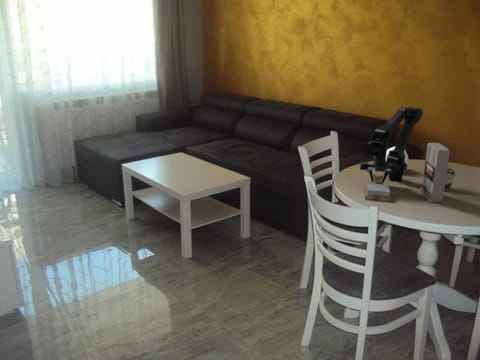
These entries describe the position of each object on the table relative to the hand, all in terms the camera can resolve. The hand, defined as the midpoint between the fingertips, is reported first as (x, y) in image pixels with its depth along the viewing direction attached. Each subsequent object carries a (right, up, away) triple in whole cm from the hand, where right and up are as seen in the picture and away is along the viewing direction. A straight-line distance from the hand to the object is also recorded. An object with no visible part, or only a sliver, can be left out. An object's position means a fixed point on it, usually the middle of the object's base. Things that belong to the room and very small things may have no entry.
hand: (377, 182), depth 244 cm
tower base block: (-4, -7, -15) cm, 17 cm away
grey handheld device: (+21, -7, -16) cm, 27 cm away
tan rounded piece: (0, -1, 0) cm, 1 cm away
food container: (+31, -2, -3) cm, 31 cm away
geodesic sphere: (+17, +7, +25) cm, 31 cm away
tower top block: (-4, -5, -16) cm, 17 cm away
